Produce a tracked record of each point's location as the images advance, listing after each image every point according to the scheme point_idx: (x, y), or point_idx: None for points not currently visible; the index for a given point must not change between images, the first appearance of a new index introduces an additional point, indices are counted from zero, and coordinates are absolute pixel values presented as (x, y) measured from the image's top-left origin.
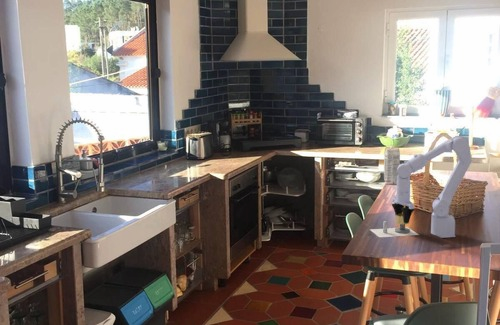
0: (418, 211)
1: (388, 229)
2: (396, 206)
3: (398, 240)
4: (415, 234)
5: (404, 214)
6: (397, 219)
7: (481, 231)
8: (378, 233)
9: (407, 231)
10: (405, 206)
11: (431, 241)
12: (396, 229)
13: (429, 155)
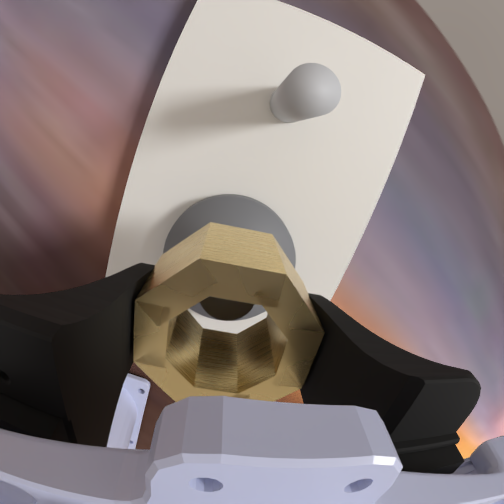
0: None
1: (342, 198)
2: (372, 406)
3: (108, 101)
4: None
5: (63, 291)
6: (236, 243)
7: None
8: (302, 41)
9: None
10: (38, 430)
11: (16, 286)
12: (264, 223)
13: None
